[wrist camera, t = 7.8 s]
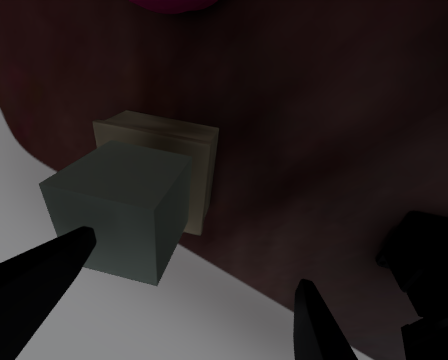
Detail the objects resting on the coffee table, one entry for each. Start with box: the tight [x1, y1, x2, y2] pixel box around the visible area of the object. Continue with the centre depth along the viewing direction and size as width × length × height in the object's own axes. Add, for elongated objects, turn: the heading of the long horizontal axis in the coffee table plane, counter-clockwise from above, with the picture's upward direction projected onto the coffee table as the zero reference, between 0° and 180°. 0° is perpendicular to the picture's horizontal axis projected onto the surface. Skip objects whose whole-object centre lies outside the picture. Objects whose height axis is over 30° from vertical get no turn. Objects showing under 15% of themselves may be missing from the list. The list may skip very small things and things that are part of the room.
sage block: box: [39, 140, 192, 286], centre depth 15 cm, size 6×6×6 cm
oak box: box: [92, 110, 219, 236], centre depth 20 cm, size 8×8×4 cm
